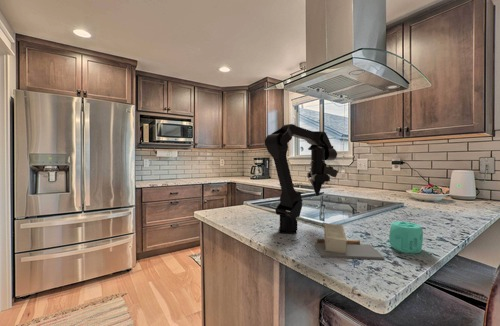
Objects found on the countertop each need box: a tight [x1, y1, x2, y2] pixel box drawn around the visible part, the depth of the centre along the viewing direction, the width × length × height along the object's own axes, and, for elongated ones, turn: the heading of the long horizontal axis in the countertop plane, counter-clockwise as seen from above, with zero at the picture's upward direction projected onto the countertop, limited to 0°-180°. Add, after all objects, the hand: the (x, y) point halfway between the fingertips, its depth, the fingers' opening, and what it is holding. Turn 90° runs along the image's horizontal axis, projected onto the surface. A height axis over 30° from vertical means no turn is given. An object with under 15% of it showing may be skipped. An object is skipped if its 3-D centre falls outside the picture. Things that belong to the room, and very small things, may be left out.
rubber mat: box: [314, 242, 385, 260], centre depth 75 cm, size 18×10×1 cm, turn 86°
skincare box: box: [323, 223, 348, 254], centre depth 78 cm, size 6×4×12 cm
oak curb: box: [316, 238, 361, 244], centre depth 81 cm, size 14×1×2 cm, turn 86°
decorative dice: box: [388, 221, 424, 255], centre depth 78 cm, size 8×8×8 cm
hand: (317, 195), depth 106 cm, fingers closed
